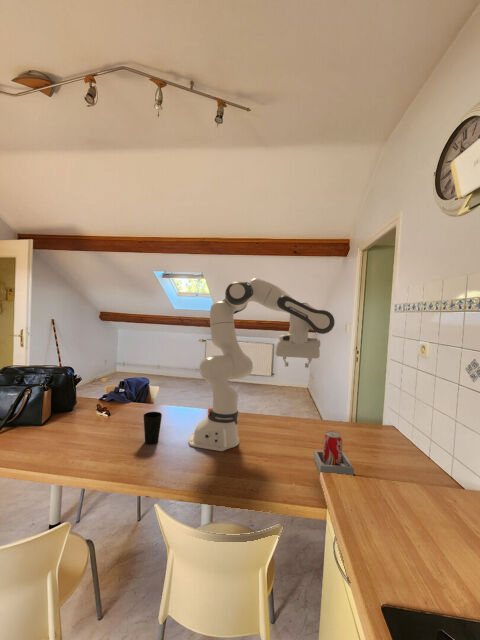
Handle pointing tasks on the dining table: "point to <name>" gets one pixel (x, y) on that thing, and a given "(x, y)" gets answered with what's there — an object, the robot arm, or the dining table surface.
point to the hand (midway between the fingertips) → (296, 366)
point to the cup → (152, 427)
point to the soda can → (332, 448)
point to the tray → (342, 469)
